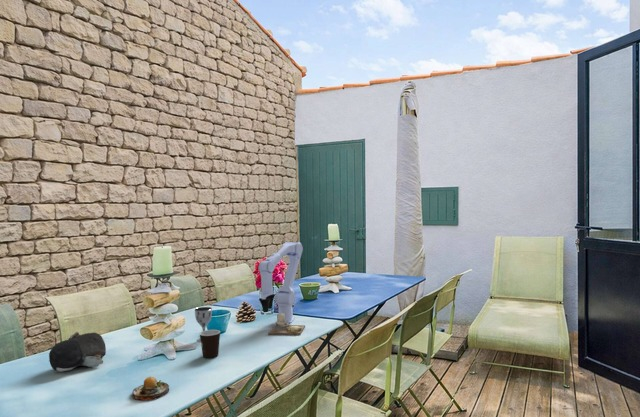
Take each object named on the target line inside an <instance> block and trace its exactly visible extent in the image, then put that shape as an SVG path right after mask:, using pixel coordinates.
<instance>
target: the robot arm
mask: <svg viewBox="0 0 640 417" xmlns="http://www.w3.org/2000/svg"><path fill="white" fill-rule="evenodd" d="M303 252H304V248H303V244H302V243H301V242H299V241H297V242H296V241H295V242H294V241H293V242H291V241H286V242H284V243H283V244H282V247H281V248H280V249H279V250H278V251H277V252H276V253H274V252H272V253H271V255H270V256H268V257H267V258H266V259H265V260H262V261H260V263H259V265H258V267H257V268H258V271H259V274H260V280H261V281H260V282H261V291H260V292H258V293H259V295H261V297H260V298H259V299H258V301H259V302H260V304H261V307H262V311H263V313H268V312H269V309H272V308H273V303H274V301H275V303H276V305H277V306H278V314H285V322H287V323H289V324H292V323H293V321H294V319H295V317H294V315H293V310H294V309H293V305H294V302H295V299H296V297H295V296H296V292H295V291H294V289H293V288H294V283H295V279H296V275H297V272H298V267H299V263H300V262H301V261H300V259H301V258H302V254H303ZM285 256H286V257H287V258H288V259H289V262H288V265H287V270H286V272H285V276H284V279H283V280H284V281H283V284H282V286H281V287H280V288H278V290H277V293H275V294H274V292H273V288H274V287H273V286H274V285H273V272H274V271H275V268H276V266H277V265H278V264H279V263H281V260H282V258H283V257H285Z"/></svg>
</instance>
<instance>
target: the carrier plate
mask: <svg viewBox="0 0 640 417" xmlns="http://www.w3.org/2000/svg"><path fill="white" fill-rule="evenodd" d="M305 328H306V325H305V324H298V325H297V324H291V325H290V323H287V322H285V325H284V326H277V322H276V323H273V327H272V328H271V329H270V330H269V331H268V332H267V335H268V336H271V335H272V336H301V335H302V333H303V331H304V329H305Z"/></svg>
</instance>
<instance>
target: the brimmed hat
mask: <svg viewBox="0 0 640 417" xmlns="http://www.w3.org/2000/svg"><path fill="white" fill-rule="evenodd" d="M169 386H170V385H169V384H168V383H167V382H164V381H162V379H161V380H159V381H158V379H157V378H156V377H154V376H148V377H146V378H145V379H144V380H143V384H141V385H138V386H137V387H135V388H133V389H132V393H131V397H132V398H133V400H140V401H142V402H145V401H147V400H148V401H153V400H156V399H155V398H157V399H160V398H162V397H163V396H166V395H167V394H168V393H170V388H169Z"/></svg>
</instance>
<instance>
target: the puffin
mask: <svg viewBox="0 0 640 417" xmlns="http://www.w3.org/2000/svg"><path fill="white" fill-rule="evenodd" d="M106 347H107V346H106V343H105V341H104V338H103V336H102V335H101V334H99V333H97V332H90V333H89V332H88V333H82V334H80V333H79V332H78V331H75V332H74V333H73V334H72V335H70V337H69V338H68V339H65V340H61V341H60V342H58V343H57V344H55V345H54V346H52V348H51V349H50V351H49V353H48V358H49V360H48V362H49V365H50V366H51V368H52V369H53V370H54V371H55V372H69V371H72V370H73V369H74V368H76V367H82V366H83V367H88V368H92V367H93V368H94V367H99V365H102V364H103V363H104V359H103V358H104V357H105V356H106V355H107V354H106V353H107V351H106V350H107V348H106Z"/></svg>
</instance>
